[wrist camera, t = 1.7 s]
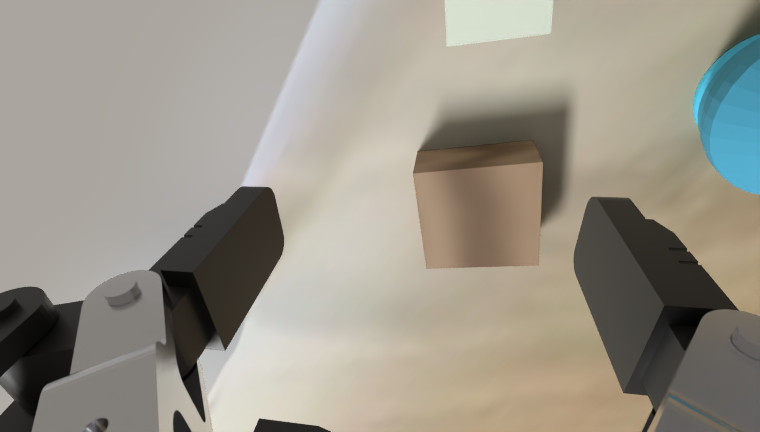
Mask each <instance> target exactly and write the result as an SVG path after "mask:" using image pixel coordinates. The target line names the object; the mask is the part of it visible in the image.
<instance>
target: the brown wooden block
mask: <svg viewBox="0 0 760 432" xmlns="http://www.w3.org/2000/svg"><path fill="white" fill-rule="evenodd" d="M413 177H414V184H415V191H416V198H417V205H418V212H419V219H420V226H421V233H422V240H423V247H424V254H425V261H426V268H427V269H432V268H464V267H497V266H529V265H539V248H540V225H541V201H542V178H543V161H542V158H541V156H540V154H539V152H538V150H537V148H536V146H535V143H534V141H533V140H529V141H519V142H509V143H499V144H489V145H479V146H469V147H459V148H449V149H439V150H429V151H419V152H417V157H416V162H415V166H414V171H413Z"/></svg>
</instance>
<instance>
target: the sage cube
mask: <svg viewBox="0 0 760 432" xmlns="http://www.w3.org/2000/svg"><path fill="white" fill-rule="evenodd" d="M552 10H553V0H445V18H446V38H447V47H449V46H457V45H464V44H472V43H480V42H488V41H496V40H504V39H512V38H519V37H527V36H535V35H543V34H551V24H552Z"/></svg>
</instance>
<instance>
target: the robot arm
mask: <svg viewBox="0 0 760 432" xmlns="http://www.w3.org/2000/svg"><path fill="white" fill-rule="evenodd" d="M283 247H284V235H283V230H282V226H281V221H280V217H279V213H278V208H277V204H276V199H275V195H274V193H273V191H272V189H271V188H269V187H240V188H239V189H238V190H237V191H236V192H235V193H234V194H233V195H232V196H231V197H230V198H229V199H228V200H227V201H226V202H225V203H224V204H221V205H220V206H218V207H216V208H214V209H213V210H211V211H209V212H207V213H206V214H205V215H204V216H203V217H202V218H201V219H200V220H199V221H198V222H197V223H196V224H195V225H194V228H191V229H190V230H189V231H188V232H187V233H186V234H185V235H184V237H182V238H181V239H180V240H179V241H178V242H177V243H176V244H175V245H174V246H173V247H172V248H171V249H170V250H169V251H168V252H167V253H166V254H165V255H164V256H162V258H160V260H158V262H156V263H155V264H154V266H152V267H151V269H149V270H138V271H131V272H127V273H124V274H121V275H118V276H116V277H114V278H111V279H109V280H107V281H106V282H104V283H102V284H101V285H99V286H98V287H96V288H95V289H94V290H93V291H92V292H91V293H90V294H89V295H88V296H87V297H86V298H85V300H84V301H78V302H72V303H65V304H59V305H53V304H52V303H51V301H50V300H49V298H48V297H47V295H46V294H45V293H44V291H43V290H42V289H40V288H37V287H22V288H17V289H12V290H9V291H6V292H3V293H0V385H1V386H2V387H3V388H4V389H5V390H6V391H7V392H8V394H9V395H10V396H11V397H12V398H13V399H14V401H13V403H12V404H11V405H10V406H9V407H8V408H7V409H6V410H5V411H4V412H3V413H2V414H1V415H0V432H213V429H212V423H211V417H210V411H209V405H208V399H207V393H206V388H205V382H204V376H203V370H202V365H201V363H200V360H199V357H200V355H201V354H202V352H203V351H204V349H210V350H220V351H225V350H226V349H227V347H228V345H229V343H230V342H231V340H232V338H233V337H234V335H235V333H236V332H237V330H238V328H239V327H240V325H241V323H242V321H243V320H244V318H245V316H246V315H247V313H248V311H249V310H250V308H251V306H252V305H253V303H254V301H255V300H256V298H257V296H258V294H259V293H260V291H261V289H262V288H263V286H264V284H265V283H266V281H267V279H268V278H269V276H270V274H271V273H272V271H273V269H274V267H275V266H276V264H277V262H278V261H279V259H280V257H281V255H282V252H283ZM574 270H575V274H576V277H577V279H578V282H579V284H580V287H581V289H582V292H583V294H584V297H585V299H586V301H587V304H588V306H589V309H590V311H591V314H592V316H593V319H594V321H595V324H596V326H597V329H598V331H599V334H600V336H601V339H602V341H603V344H604V346H605V349H606V351H607V354H608V356H609V358H610V361H611V363H612V366H613V368H614V371H615V373H616V376H617V378H618V381H619V383H620V386H621V388H622V391H623V393H628V394H638V395H648V397H649V399H650V401H651V403H652V405H653V408H652V409H651V411H650V413H649V415H648V417H647V419H646V421H645V423H644V425H643V427H642V429H641V432H760V316H757V315H755V314H751V313H747V312H743V311H739V310H738V309H737V308H736V306H735V305H734V304H733V303H732V302H731V300H730V299H729V298H728V297H727V296H726V294H725V293H724V292H723V291H722V290H721V288H720V287H719V286H718V285H717V284H716V283H715V281H714V280H713V279H712V278H711V277H710V275H709V274H708V273H707V272H706V271H705V269H704V268H703V267H702V266H701V265H698V261H697V260H696V259H695V257H694V256H693V255H692V254H691V253H690V252H687V248H686V247H685V246H684V244H683V243H682V242H681V241H680V240H679V238H678V237H677V236H676V235H675V234H674V233H673V232H672V231H670V230H668V229H667V228H665V227H664V226H662V225H661V224H659V223H657V222H656V221H654V220H650V219H645V217H644V216H643V215H642V214H641V212H640V211H639V210H638V208H637V207H636V206H635V205H634V203H633V202H632V201H631V200H630V199H629V198H618V197H592V198H591V199H590V200H589V201H588V203H587V206H586V210H585V213H584V217H583V221H582V225H581V228H580V232H579V236H578V240H577V243H576V247H575V251H574ZM254 432H331V431H328V430H326V429H324V428H321V427H319V426H313V425H305V424H297V423H290V422H282V421H274V420H266V419H259V420H258V423H257V425H256V427H255V430H254Z"/></svg>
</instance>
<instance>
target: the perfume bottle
mask: <svg viewBox="0 0 760 432" xmlns="http://www.w3.org/2000/svg"><path fill="white" fill-rule="evenodd" d="M693 115H694V118H695V121H696V124H697V125H698V128H699V131H700V136H701V140H702V143H703V146H704V150H705V152H706V155H707V158H708V159H709V161H710V162H711V164H712V165H713V166H714V168H715V169H716V170H717V171H718V172H719V173H720V175H721V176H722V177H724V178H725V179H726V180H727V181H729V182H730V183H731V184H732V185H734V186H736V187H738V188H740V189H742V190H744V191H747V192H750V193H754V194H759V195H760V34H757V35H755V36H752V37H750V38H748V39H746V40H744V41H742V42H740V43H738V44H737V45H735V46H734V47H733V48H731V49H730V50H728V51H727V52H725V53H724V54H723V55H722V56H721V57H720V58H719V59H718V60H716V61H715V62H714V64H713V65H712V66H711V67H710V68H709V69H708V71H707V72H706V73H705V75H704V76H703V78H702V80H701V81H700V83H699V85H698V88H697V90H696V93H695V96H694V101H693Z"/></svg>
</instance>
